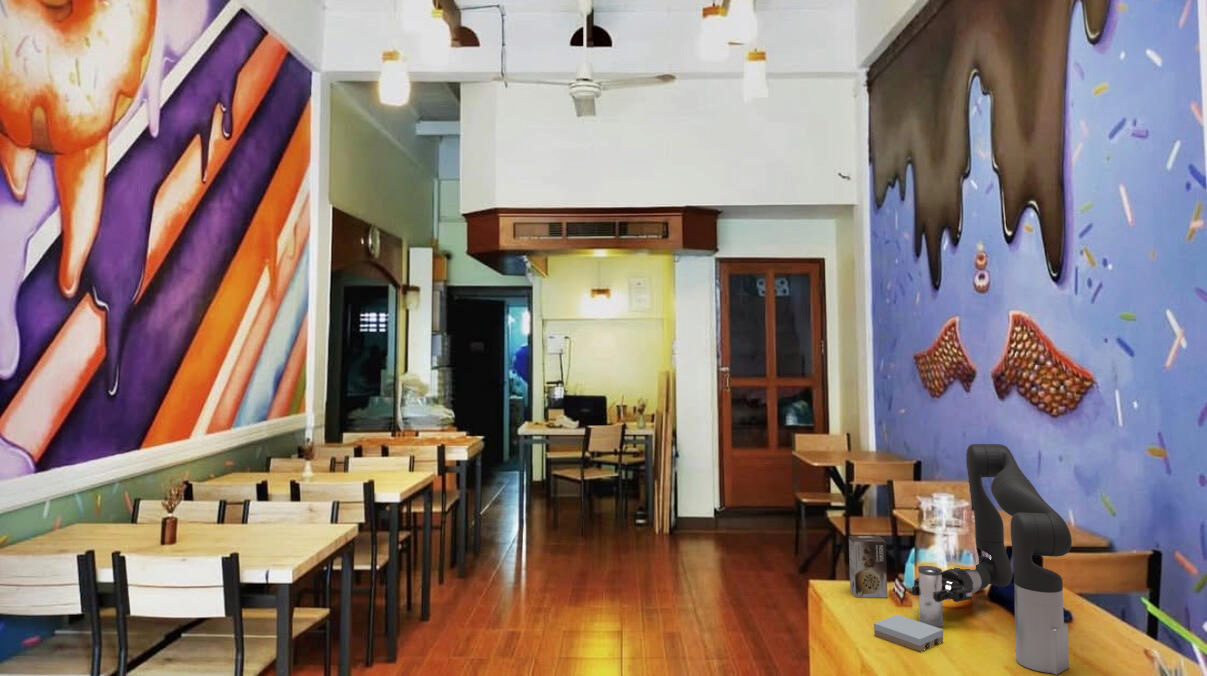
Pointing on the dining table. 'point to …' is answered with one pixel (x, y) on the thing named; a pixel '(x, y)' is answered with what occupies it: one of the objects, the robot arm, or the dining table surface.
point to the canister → (930, 596)
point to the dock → (908, 632)
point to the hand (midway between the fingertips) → (925, 594)
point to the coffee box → (868, 566)
